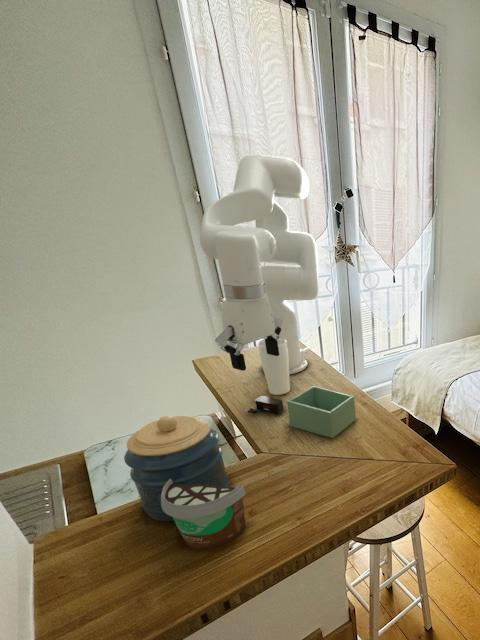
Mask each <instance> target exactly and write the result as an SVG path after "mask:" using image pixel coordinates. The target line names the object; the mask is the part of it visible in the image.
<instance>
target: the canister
mask: <svg viewBox="0 0 480 640" xmlns="http://www.w3.org/2000/svg"><path fill="white" fill-rule="evenodd" d="M219 438H220V437H219V433H218V432H217V431H216V430H215V429H213V428H212V427H211V425H210V423H209V422H208V421H207V420H205V419H203V418H199V417H195V416H189V415H188V416H187V415H175V416H169V415H165V416H161V417H160V418H159V419H158V420H155V421H152V422H150V423H148V424H146V425H144V426H142V427H141V428H140V429H139V430H137V431H135V432H134V433H133V434H132V435H131V436H129V438H128V440H127V441H126V448H127V449H126V452H125V453H124V456H123V459H124V460H123V461H124V463H125V464H126V465H127V467H129V468H131V469H130V472H129V474H130V478H131V480H132V481H133V482H134V485H135V487H136V491H137V493H138V496H139V498H140V499H139V500H140V505H141V507H142V510H143V511H144V512H145V513H146V514H147V516H148V517H149V518H150V519H152V520H155V521H159V522H175V521H174V519H173V517H172V516H170V515H168V514H166V513H165V512H164V511H163V509H162V507H161V494H162V491H163V488H164V485H165V484H166V483H167V481H168V480H169V479H171V480H172V482H173V483H174V484H187V485H194V484H209V485H215V486H220V487H230V478H229V473H228V472H227V470H226V466H225V463H224V458H223V449H222V448H221V446H220V445H219V444H218V443H219Z"/></svg>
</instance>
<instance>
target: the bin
mask: <svg viewBox="0 0 480 640" xmlns="http://www.w3.org/2000/svg"><path fill="white" fill-rule="evenodd" d="M355 403H356V402H355V396H354V395H351V394H347V393H343V392H340V391H336V390H332V389H328V388H324V387H320V386H317V385H312V386H311V387H309V388H307V389H306V390H304V391H302V392H301V393H298V394H297V395H295V396H293V397H292V398H290V399H288V400H287V401H286V405H287V411H288V418H289V425H290V427H293V428H296V429H298V430H303V431H307V432H309V433H313V434H317V435H320V436H324V437H328V438H331V439H334V438H335V437H336V436H338V435H339V434H340V433H341V432H342V431H344V430H345V429H346V428H347V427H349V426H350V425H351V424H353V422H355V421H356V419H357V418H356V416H357V415H356V404H355Z"/></svg>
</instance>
